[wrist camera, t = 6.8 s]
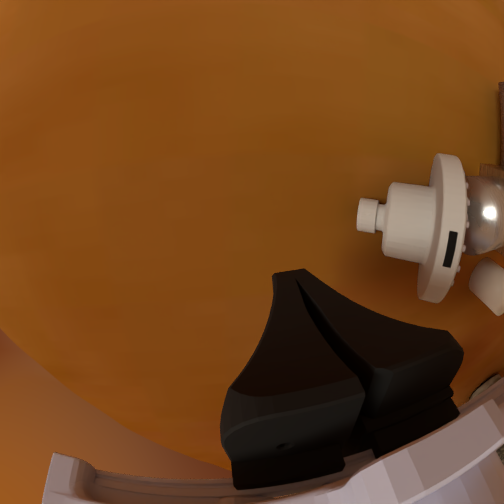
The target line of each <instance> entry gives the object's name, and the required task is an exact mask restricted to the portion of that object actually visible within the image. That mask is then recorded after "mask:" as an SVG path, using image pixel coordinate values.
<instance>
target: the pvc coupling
mask: <svg viewBox="0 0 504 504" xmlns="http://www.w3.org/2000/svg"><path fill="white" fill-rule="evenodd" d="M469 289H470V290H471V291H472V292H473V293H474V294H475V295H476V296H477V297H478V298H479V299H480V300H481V301H482V302H483V303H484V304H486V305H487V306H488V307H489V308H490V309H491V310H492V311H493V312H494V313H495V314H496V315H497V316H500V315H502V314H503V313H504V269H503V268H502V267H501V266H499V265H498V264H497V263H495V262H494V261H493V260H491V259H490V258H488V257H486V258H484V259H482V260H481V261H480V262H479V263H478V264H477V265H476V267H475V269H474V270H473V272H472V274H471V277H470V280H469Z"/></svg>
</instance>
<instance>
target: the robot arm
mask: <svg viewBox="0 0 504 504" xmlns="http://www.w3.org/2000/svg"><path fill="white" fill-rule="evenodd" d="M272 281H273V292H274V294H273V302H272V307H271V311H270V315H269V318H268V321H267V324H266V327H265V330H264V333H263V335H262V337H261V339H260V341H259V344H258V346H257V348H256V350H255V351H254V353H253V355H252V356H251V358H250V360H249V361H248V363H247V364H246V366H245V368H244V369H243V370H242V372H241V373H240V374H239V376H238V377H237V378H236V379H235V381H234V382H233V383H232V384H231V386H230V387H229V388H228V391H227V395H226V398H225V401H224V405H223V409H222V414H221V421H220V434H221V443H222V447H223V448H224V450H225V452H226V454H227V455H228V457H229V459H230V460H231V466H232V477H233V478H223V479H166V478H152V477H142V476H133V475H126V474H119V473H113V472H107V471H102V470H97V469H95V468H94V467H93V466H92V465H91V464H89V463H88V462H86V461H84V460H81V459H79V458H76V457H71V456H67V455H64V454H60V453H57V452H55V453H53V456H52V459H51V464H50V467H49V471H48V476H47V481H46V485H45V490H44V494H43V499H42V504H504V465H503V463H502V461H501V459H500V458H499V456H498V454H497V452H496V450H497V449H499V448H500V447H501V446H502V445H503V444H504V377H503V378H501V379H500V380H499V381H497V382H496V383H495V384H493V385H492V386H490V387H489V388H488V389H486V390H485V391H483V392H482V393H480V394H479V395H477V396H476V397H474V398H473V399H471V400H470V401H468V402H467V403H465V404H463V405H462V406H460V407H458V408H457V407H456V405H455V404H454V402H453V400H452V399H451V397H452V396H453V394H454V393H453V390H452V389H451V387H450V386H449V385H450V383H451V382H452V380H453V378H454V377H455V375H456V373H457V371H458V370H459V368H460V366H461V363H462V361H463V355H464V352H463V348H462V347H461V346H460V345H459V344H458V342H457V341H456V340H455V339H454V338H453V336H452V335H451V334H450V333H449V332H448V331H446V330H439V329H433V328H426V327H421V326H417V325H413V324H409V323H405V322H401V321H398V320H395V319H392V318H389V317H387V316H384V315H381V314H379V313H376V312H374V311H371V310H369V309H367V308H365V307H363V306H361V305H359V304H357V303H355V302H353V301H351V300H350V299H348V298H346V297H345V296H343V295H341V294H340V293H338V292H337V291H335V290H334V289H332V288H331V287H329V286H328V285H326V284H325V283H323V282H322V281H321V280H319V279H318V278H316V277H315V276H314V275H312V274H311V273H310V272H308V271H307V270H306V269H298V270H292V271H285V272H279V273H274V274H273V276H272ZM295 493H296V494H295ZM290 494H292V495H290ZM284 495H288V496H284ZM277 496H284V497H279V498H273V497H277Z"/></svg>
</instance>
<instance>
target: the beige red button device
mask: <svg viewBox="0 0 504 504" xmlns="http://www.w3.org/2000/svg"><path fill="white" fill-rule="evenodd" d="M498 85H499V95H500V107H501V165H493V164H480V176H465V180H466V182H467V183H468V189H467V198H468V199H469V200H470V206H467V215H468V220H467V221H468V222H469V228H466V231H465V239H464V245H466V248H465V252H463V253H465V254H467V255H478V254H482V253H485V252H488V251H492V250H496V251H497V252H498V253H500V254H501V255H503V256H504V82H499V83H498Z"/></svg>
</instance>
